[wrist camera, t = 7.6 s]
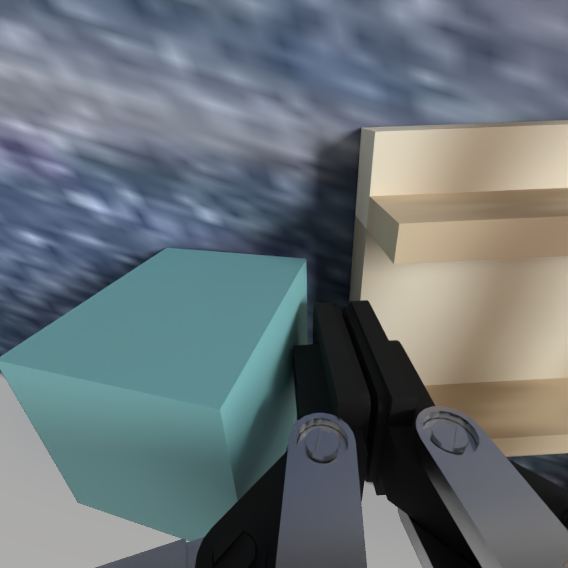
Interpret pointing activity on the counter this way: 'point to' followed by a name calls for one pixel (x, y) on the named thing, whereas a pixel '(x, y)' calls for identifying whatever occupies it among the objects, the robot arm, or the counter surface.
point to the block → (169, 385)
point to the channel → (473, 268)
